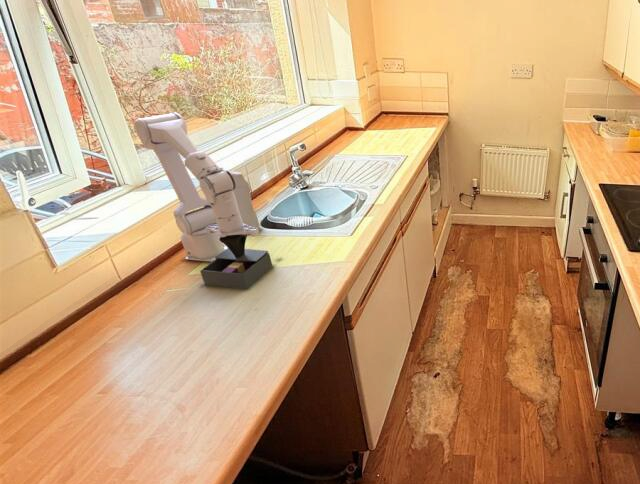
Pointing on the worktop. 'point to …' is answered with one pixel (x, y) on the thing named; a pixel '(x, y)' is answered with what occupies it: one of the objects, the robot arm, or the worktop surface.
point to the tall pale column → (244, 201)
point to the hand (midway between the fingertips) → (240, 255)
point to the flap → (248, 256)
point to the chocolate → (238, 267)
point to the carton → (235, 280)
